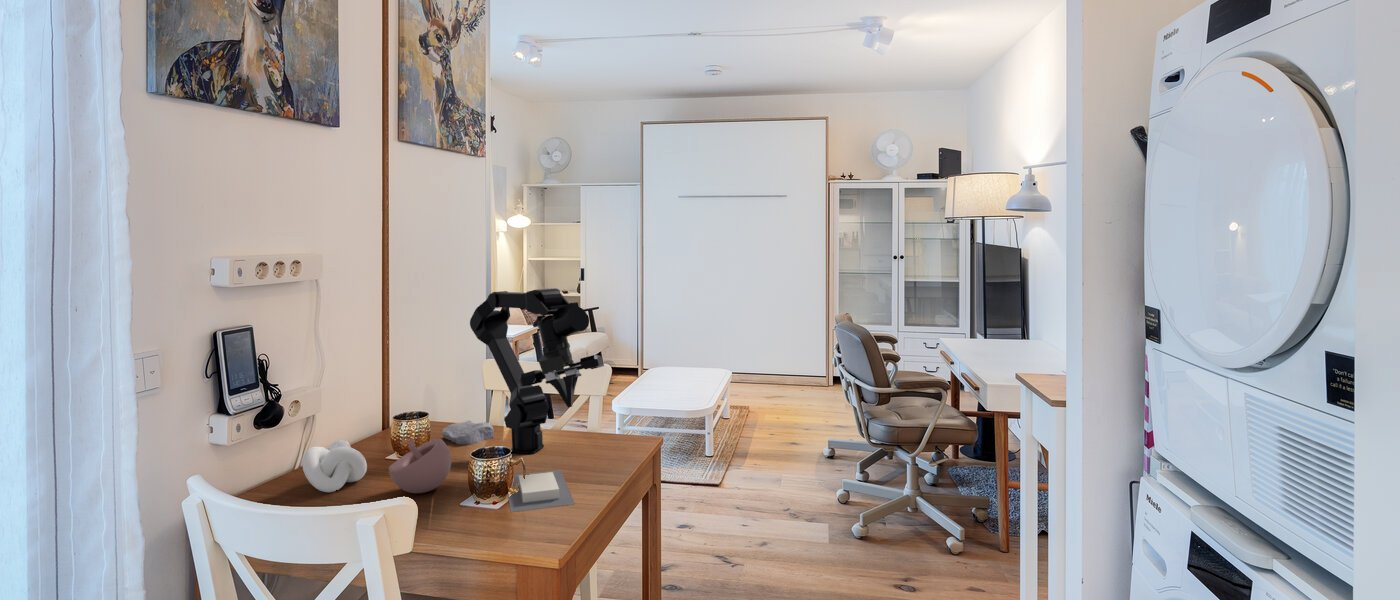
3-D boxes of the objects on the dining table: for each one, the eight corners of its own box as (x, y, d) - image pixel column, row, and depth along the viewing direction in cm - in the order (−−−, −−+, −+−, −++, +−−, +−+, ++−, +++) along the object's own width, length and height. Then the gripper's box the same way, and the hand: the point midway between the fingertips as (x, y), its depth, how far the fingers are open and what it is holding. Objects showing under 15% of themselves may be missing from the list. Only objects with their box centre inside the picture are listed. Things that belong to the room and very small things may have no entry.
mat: (504, 477, 151) (504, 475, 151) (560, 471, 155) (560, 469, 155) (510, 514, 131) (510, 512, 131) (575, 506, 134) (575, 503, 134)
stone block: (469, 453, 176) (498, 436, 185) (465, 435, 175) (494, 419, 184) (438, 448, 182) (467, 432, 191) (433, 431, 181) (463, 416, 190)
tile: (518, 475, 145) (522, 493, 135) (552, 471, 147) (559, 488, 137) (518, 485, 145) (522, 503, 135) (552, 481, 148) (559, 498, 137)
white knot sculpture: (296, 485, 149) (294, 443, 148) (357, 472, 156) (355, 433, 156) (307, 499, 140) (305, 455, 139) (371, 485, 148) (369, 444, 147)
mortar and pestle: (391, 486, 147) (389, 432, 146) (452, 478, 151) (449, 426, 150) (388, 505, 136) (385, 448, 135) (453, 497, 140) (450, 441, 139)
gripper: (504, 350, 154) (519, 419, 153) (584, 329, 153) (600, 398, 151) (521, 351, 165) (535, 416, 164) (596, 331, 164) (611, 396, 162)
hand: (570, 407), depth 160 cm, fingers closed
